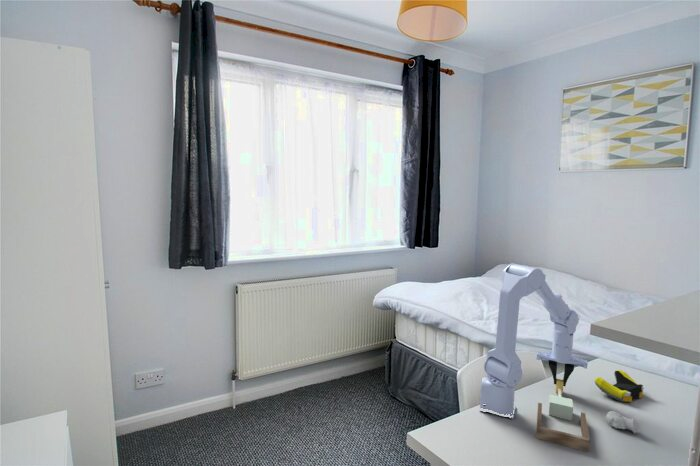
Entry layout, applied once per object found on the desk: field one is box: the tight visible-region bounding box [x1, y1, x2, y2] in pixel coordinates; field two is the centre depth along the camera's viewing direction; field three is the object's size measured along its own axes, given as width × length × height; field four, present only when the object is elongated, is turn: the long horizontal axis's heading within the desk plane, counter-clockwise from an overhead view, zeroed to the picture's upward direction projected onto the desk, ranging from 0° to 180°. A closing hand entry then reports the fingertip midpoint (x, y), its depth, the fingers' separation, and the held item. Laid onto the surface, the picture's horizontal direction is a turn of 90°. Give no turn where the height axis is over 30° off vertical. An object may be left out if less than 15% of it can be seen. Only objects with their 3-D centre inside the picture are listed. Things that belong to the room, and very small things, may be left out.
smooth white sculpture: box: [605, 410, 640, 435], centre depth 110 cm, size 4×8×5 cm
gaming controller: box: [594, 369, 646, 403], centre depth 129 cm, size 15×6×10 cm
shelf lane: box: [535, 402, 590, 452], centre depth 109 cm, size 12×14×3 cm
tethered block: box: [548, 378, 574, 421], centre depth 122 cm, size 6×18×4 cm, turn 153°
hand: (559, 384), depth 130 cm, fingers closed on tethered block, 2 cm apart
